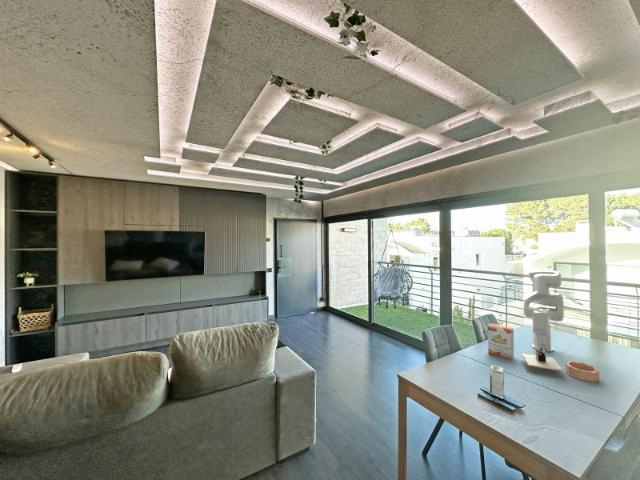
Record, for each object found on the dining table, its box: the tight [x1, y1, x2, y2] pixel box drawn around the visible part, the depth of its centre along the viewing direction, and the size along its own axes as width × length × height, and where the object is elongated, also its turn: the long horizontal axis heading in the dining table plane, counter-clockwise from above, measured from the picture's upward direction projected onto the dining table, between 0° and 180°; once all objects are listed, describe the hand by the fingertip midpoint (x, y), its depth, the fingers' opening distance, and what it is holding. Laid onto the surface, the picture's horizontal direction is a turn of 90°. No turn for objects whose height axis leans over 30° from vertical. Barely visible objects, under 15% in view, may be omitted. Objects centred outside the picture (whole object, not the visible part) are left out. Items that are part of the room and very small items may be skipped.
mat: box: [519, 359, 566, 380], centre depth 162 cm, size 18×18×1 cm
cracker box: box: [487, 323, 515, 360], centre depth 182 cm, size 14×6×21 cm, turn 37°
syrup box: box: [489, 364, 505, 398], centre depth 136 cm, size 6×6×14 cm
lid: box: [521, 349, 564, 372], centre depth 162 cm, size 16×16×7 cm
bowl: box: [565, 360, 600, 383], centre depth 153 cm, size 13×13×6 cm
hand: (540, 359), depth 162 cm, fingers closed on lid, 4 cm apart
